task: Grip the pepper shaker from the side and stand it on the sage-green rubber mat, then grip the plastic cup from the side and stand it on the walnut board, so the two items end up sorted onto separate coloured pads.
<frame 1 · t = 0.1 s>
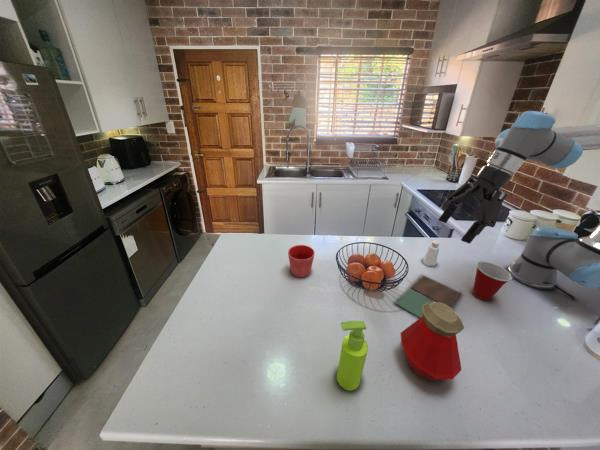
hand: (452, 231, 79), 28 cm above the countertop, tool tilted 20°, fingers open, 13 cm apart
plastic cup: (481, 295, 94), on the countertop
flower pot: (300, 271, 103), on the countertop
pepper shaker: (429, 263, 111), on the countertop
walnut pad: (435, 291, 95), on the countertop
sage mat: (421, 307, 87), on the countertop
bottle: (422, 364, 68), on the countertop
soap dispenser: (346, 379, 64), on the countertop
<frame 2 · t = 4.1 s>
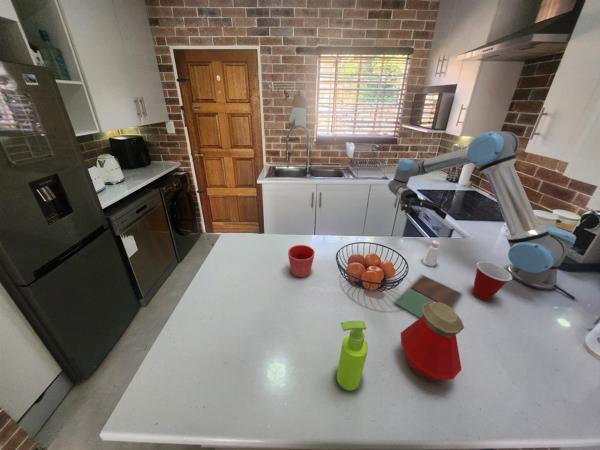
hand: (431, 216, 109), 20 cm above the countertop, tool horizontal, fingers open, 13 cm apart
nothing on the countertop moved.
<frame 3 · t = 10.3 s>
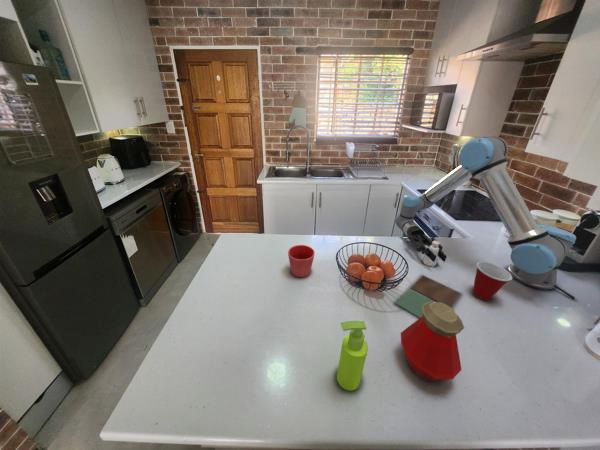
hand: (439, 258, 104), 6 cm above the countertop, tool horizontal, fingers closed on pepper shaker, 4 cm apart
pepper shaker: (429, 263, 111), on the countertop, touching gripper
everything else where it was.
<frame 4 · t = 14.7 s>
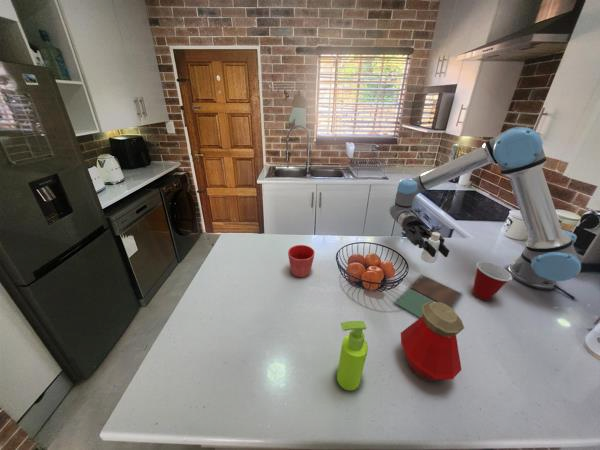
hand: (440, 253, 85), 18 cm above the countertop, tool horizontal, fingers closed on pepper shaker, 4 cm apart
pepper shaker: (427, 259, 93), point 12 cm above the countertop, touching gripper
everything else where it was.
when the fingers open (6 cm above the countertop, at t = 19.6 s): pepper shaker stays where it is, resting on sage mat.
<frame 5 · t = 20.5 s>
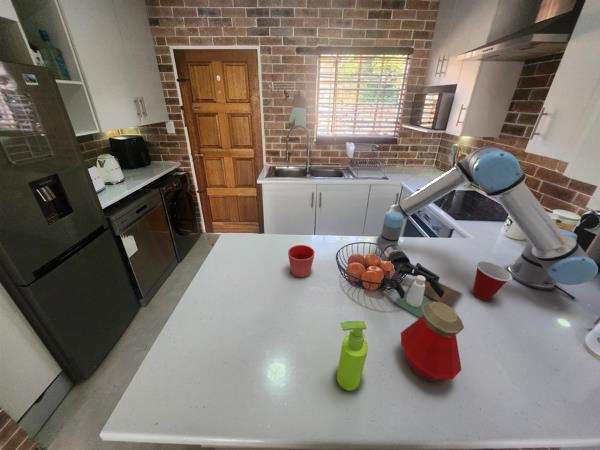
hand: (422, 295, 83), 7 cm above the countertop, tool horizontal, fingers open, 13 cm apart
pepper shaker: (413, 302, 89), resting on sage mat
everything else where it was.
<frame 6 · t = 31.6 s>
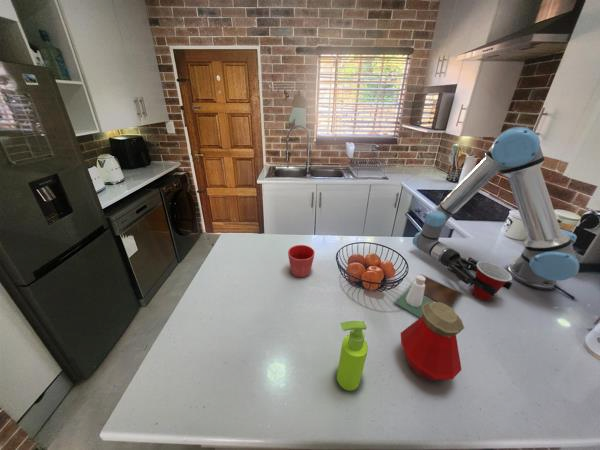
hand: (502, 289, 87), 7 cm above the countertop, tool horizontal, fingers closed on plastic cup, 8 cm apart
plastic cup: (481, 295, 94), on the countertop, touching gripper
everything else where it was.
when the fingers open (7 cm above the countertop, at t = 39.5 s): plastic cup stays where it is, resting on walnut pad.
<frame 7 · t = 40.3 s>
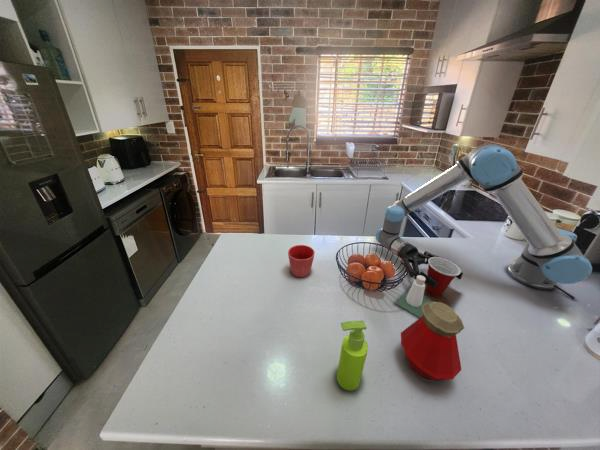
hand: (448, 280, 89), 8 cm above the countertop, tool horizontal, fingers open, 13 cm apart
plastic cup: (434, 290, 94), resting on walnut pad
everything else where it was.
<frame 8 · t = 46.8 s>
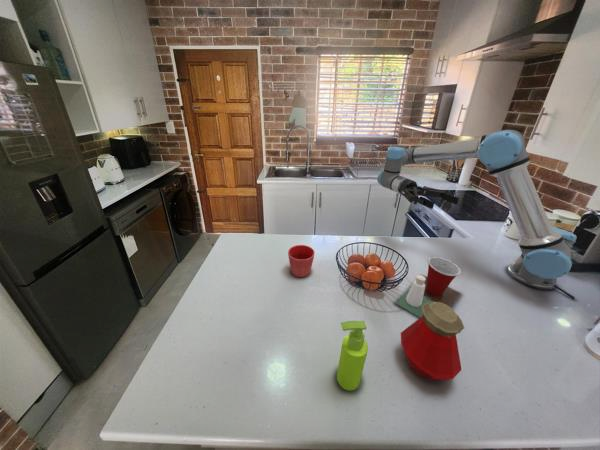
hand: (445, 203, 95), 30 cm above the countertop, tool horizontal, fingers open, 13 cm apart
nothing on the countertop moved.
at the end: pepper shaker inside the target area on the sage mat (3.1 cm from its centre), point 0.3 cm above the sage mat's base; plastic cup inside the target area on the walnut pad (0.2 cm from its centre), point 0.3 cm above the walnut pad's base; pepper shaker tilted 0° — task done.
